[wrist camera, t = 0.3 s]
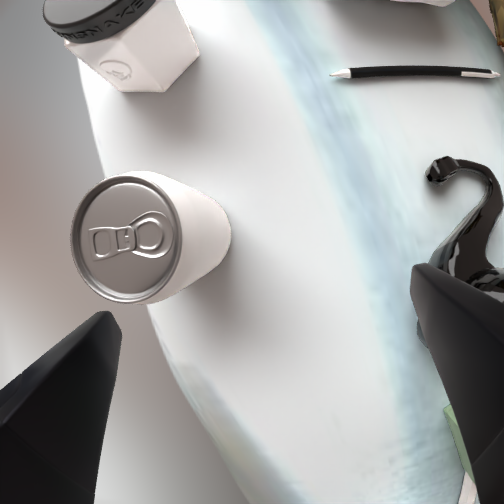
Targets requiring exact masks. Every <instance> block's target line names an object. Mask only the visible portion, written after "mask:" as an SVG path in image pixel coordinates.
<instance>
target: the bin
mask: <svg viewBox="0 0 504 504" xmlns="http://www.w3.org/2000/svg"><path fill="white" fill-rule="evenodd" d="M443 410H444V412H445V415H446V418H447V421H448V423H449V426H450V429H451V432H452V435H453V438H454V441H455V444H456V447H457V450H458V453H459V456H460V459H461V462H462V466H463V468H464V470H465V471H466V472H467V473H468V475H469V477H470V478H471V480H472V481H473V483H474V484H475V481H474V477H473V473H472V470H471V465H470V462H469V459H468V455H467V452H466V449H465V445H464V442H463V439H462V436H461V433H460V430H459V427H458V424H457V421H456V418H455V415H454V412H453V409H452V407H451V404H450V405H448V406H447V407H446V408H444V409H443ZM475 486H476V485H475Z"/></svg>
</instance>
